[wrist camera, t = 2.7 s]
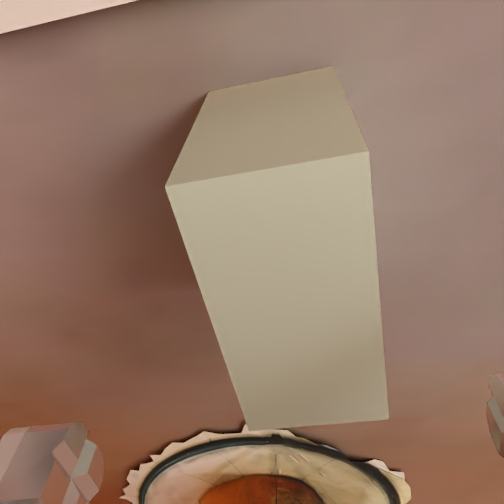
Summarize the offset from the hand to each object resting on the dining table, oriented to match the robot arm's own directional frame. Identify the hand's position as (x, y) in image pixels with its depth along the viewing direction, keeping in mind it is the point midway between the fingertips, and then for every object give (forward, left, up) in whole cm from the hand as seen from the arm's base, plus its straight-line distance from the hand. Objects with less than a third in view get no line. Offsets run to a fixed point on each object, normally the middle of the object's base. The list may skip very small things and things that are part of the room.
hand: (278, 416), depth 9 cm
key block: (0, 0, -9) cm, 9 cm away
